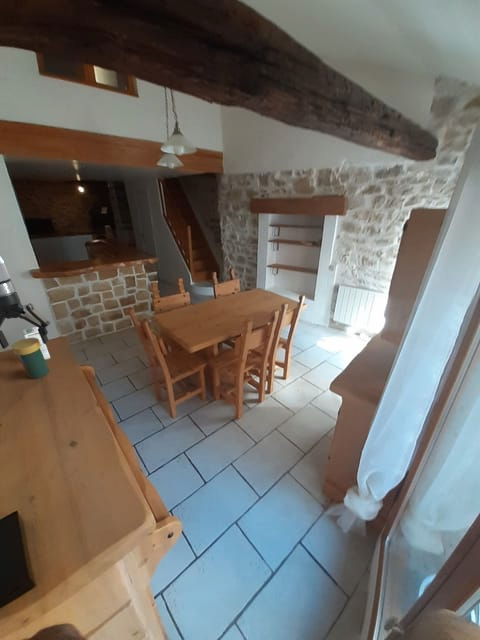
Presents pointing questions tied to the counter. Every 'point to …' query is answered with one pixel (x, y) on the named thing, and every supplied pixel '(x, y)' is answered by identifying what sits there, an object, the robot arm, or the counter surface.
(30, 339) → the lid
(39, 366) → the green upright cylinder
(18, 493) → the counter surface
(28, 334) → the syrup box
